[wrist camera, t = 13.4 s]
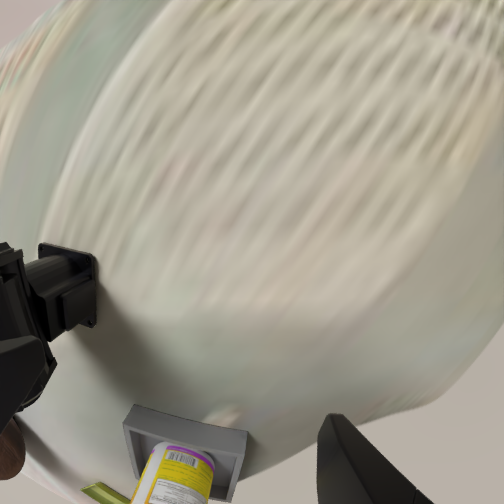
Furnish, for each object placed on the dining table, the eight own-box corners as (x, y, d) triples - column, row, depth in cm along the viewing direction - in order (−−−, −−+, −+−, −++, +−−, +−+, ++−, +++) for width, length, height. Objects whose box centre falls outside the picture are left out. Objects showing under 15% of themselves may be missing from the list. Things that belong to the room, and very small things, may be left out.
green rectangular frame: (98, 476, 29) (94, 484, 27) (142, 503, 30) (139, 511, 28) (83, 482, 31) (79, 489, 29) (122, 507, 32) (118, 514, 30)
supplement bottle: (179, 475, 24) (150, 561, 12) (142, 441, 23) (97, 533, 11) (228, 469, 23) (210, 569, 11) (192, 433, 22) (154, 546, 10)
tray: (143, 462, 26) (135, 478, 23) (134, 404, 23) (122, 423, 20) (233, 483, 25) (230, 502, 22) (247, 431, 23) (244, 454, 20)
